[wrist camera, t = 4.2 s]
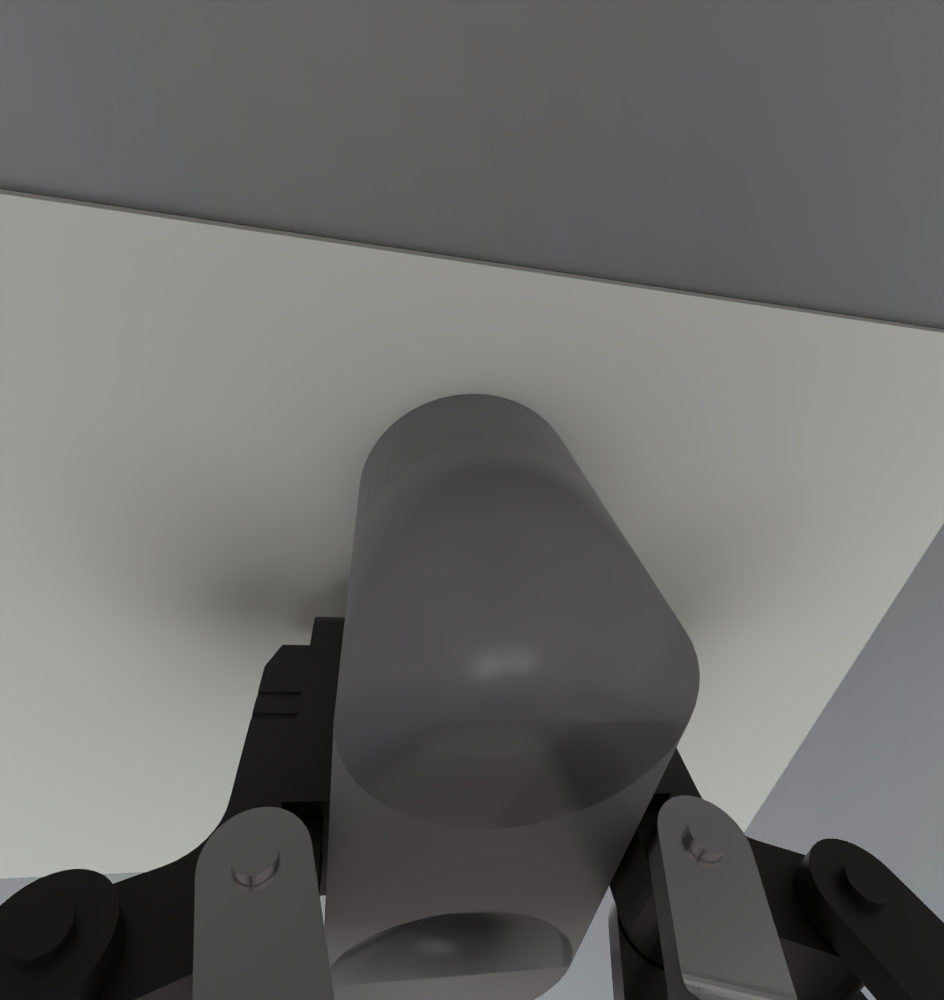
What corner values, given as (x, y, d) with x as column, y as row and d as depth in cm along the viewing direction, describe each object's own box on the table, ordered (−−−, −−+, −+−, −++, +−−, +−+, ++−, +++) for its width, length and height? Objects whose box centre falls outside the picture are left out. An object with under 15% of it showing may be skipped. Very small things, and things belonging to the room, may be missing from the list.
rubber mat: (-299, 145, 7) (-353, 142, 7) (1023, 341, 11) (1055, 349, 10) (8, 854, 15) (-6, 878, 14) (726, 827, 18) (735, 845, 18)
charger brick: (365, 381, 9) (341, 563, 5) (597, 405, 10) (757, 583, 6) (339, 820, 15) (317, 1084, 10) (487, 816, 16) (523, 1061, 11)
